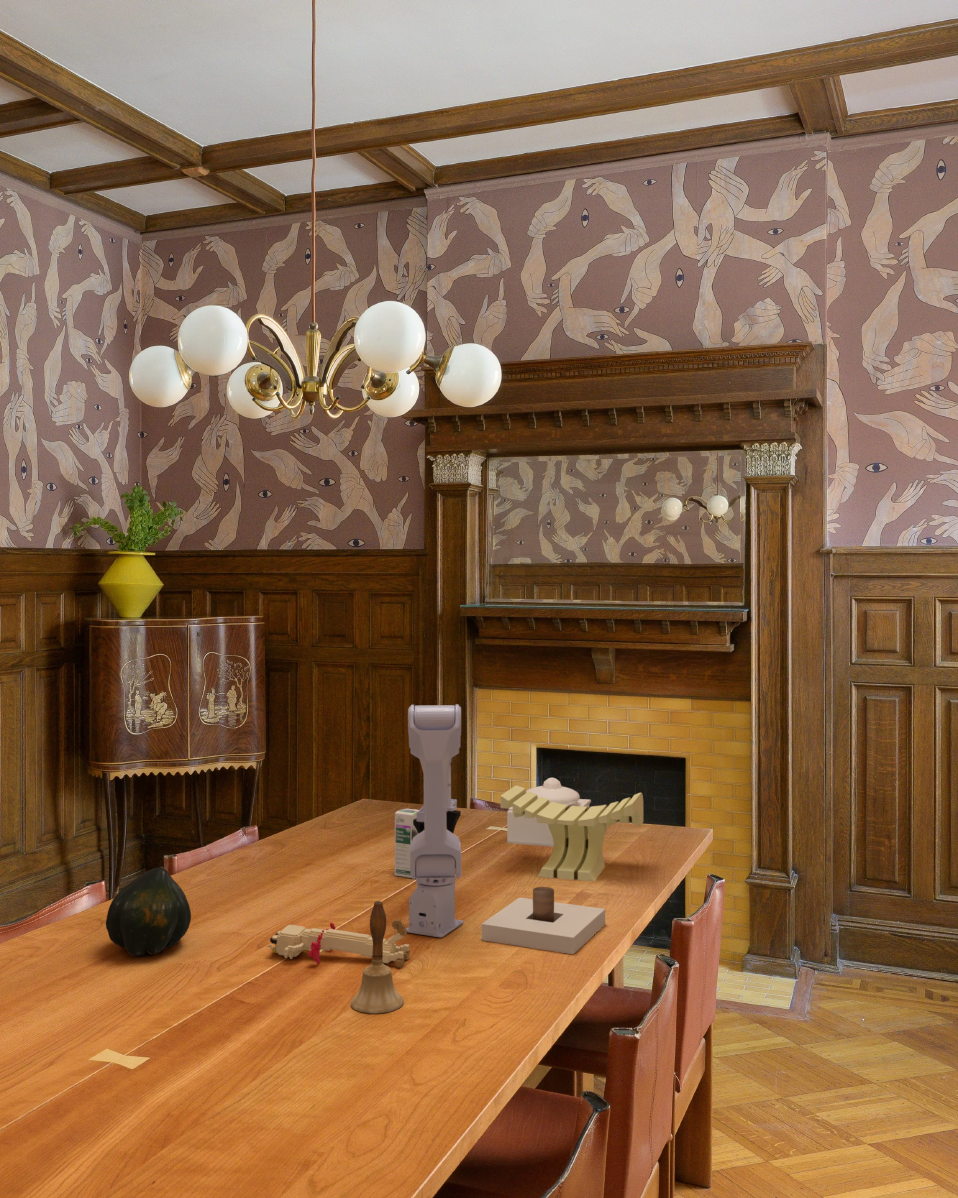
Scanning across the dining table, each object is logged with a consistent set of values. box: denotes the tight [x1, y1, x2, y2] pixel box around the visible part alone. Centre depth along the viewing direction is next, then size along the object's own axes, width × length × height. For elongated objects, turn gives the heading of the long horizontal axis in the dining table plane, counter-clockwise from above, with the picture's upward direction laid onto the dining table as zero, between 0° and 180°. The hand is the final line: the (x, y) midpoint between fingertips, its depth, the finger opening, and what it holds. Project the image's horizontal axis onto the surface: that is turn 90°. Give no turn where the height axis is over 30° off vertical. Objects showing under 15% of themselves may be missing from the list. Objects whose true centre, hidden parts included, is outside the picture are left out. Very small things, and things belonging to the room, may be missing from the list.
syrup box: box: [394, 808, 420, 879], centre depth 236 cm, size 6×6×14 cm
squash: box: [105, 866, 192, 958], centre depth 189 cm, size 14×15×15 cm
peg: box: [532, 886, 555, 923], centre depth 197 cm, size 4×4×8 cm
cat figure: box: [267, 918, 411, 969], centre depth 183 cm, size 10×9×25 cm
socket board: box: [480, 897, 606, 955], centre depth 197 cm, size 18×18×3 cm
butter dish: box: [506, 777, 592, 848], centre depth 271 cm, size 18×18×16 cm
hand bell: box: [350, 900, 405, 1015], centre depth 163 cm, size 8×8×16 cm
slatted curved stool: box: [500, 785, 644, 882], centre depth 240 cm, size 30×16×18 cm, turn 73°
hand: (437, 849), depth 218 cm, fingers open, 7 cm apart
